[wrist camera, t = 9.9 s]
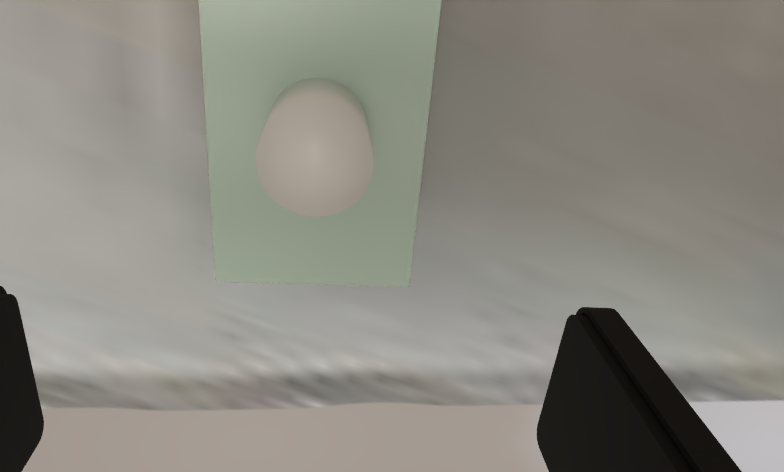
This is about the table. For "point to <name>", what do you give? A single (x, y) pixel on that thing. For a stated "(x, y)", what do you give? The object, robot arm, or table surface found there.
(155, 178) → the table surface
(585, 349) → the robot arm
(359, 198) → the lid
